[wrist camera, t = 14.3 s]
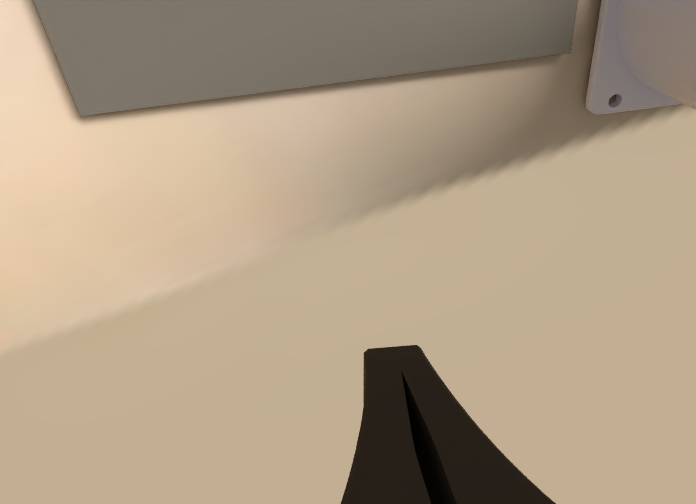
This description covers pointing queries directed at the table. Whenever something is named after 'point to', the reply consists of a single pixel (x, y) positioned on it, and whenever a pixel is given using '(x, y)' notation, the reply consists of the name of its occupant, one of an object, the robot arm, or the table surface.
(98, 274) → the table surface
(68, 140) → the table surface
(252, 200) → the table surface
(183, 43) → the mat
